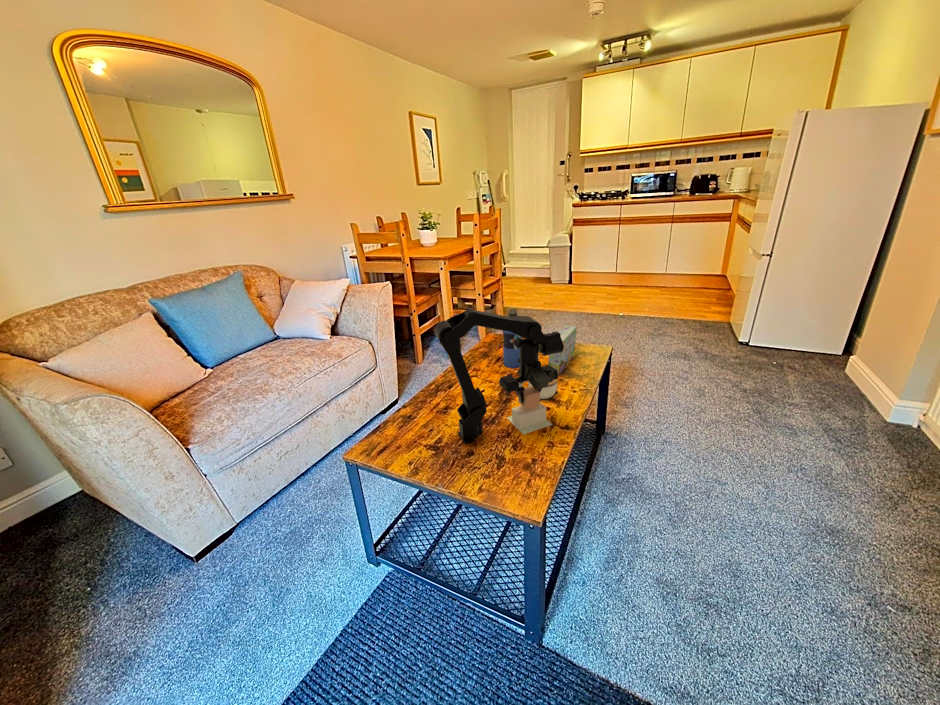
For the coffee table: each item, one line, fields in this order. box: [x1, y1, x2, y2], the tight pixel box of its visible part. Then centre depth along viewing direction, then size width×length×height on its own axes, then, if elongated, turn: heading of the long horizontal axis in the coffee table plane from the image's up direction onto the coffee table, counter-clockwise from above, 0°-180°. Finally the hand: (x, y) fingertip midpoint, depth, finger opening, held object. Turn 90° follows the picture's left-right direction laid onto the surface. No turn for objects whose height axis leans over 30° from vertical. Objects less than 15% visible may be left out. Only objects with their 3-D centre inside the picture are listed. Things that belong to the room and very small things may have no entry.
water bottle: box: [501, 308, 524, 369], centre depth 169 cm, size 9×9×25 cm
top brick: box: [517, 385, 541, 410], centre depth 127 cm, size 5×5×5 cm
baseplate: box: [506, 415, 553, 435], centre depth 130 cm, size 11×11×1 cm
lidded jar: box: [527, 378, 559, 400], centre depth 145 cm, size 11×11×9 cm
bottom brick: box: [511, 402, 547, 429], centre depth 129 cm, size 10×5×5 cm, turn 114°
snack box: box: [547, 324, 578, 377], centre depth 167 cm, size 21×6×15 cm, turn 150°
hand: (528, 401), depth 127 cm, fingers closed on top brick, 5 cm apart
